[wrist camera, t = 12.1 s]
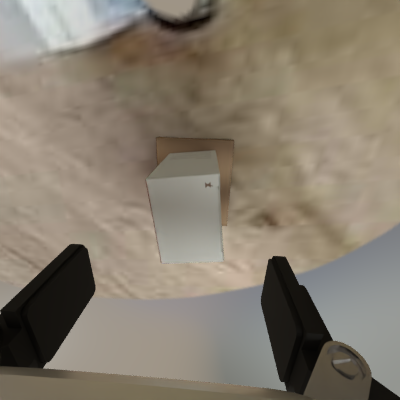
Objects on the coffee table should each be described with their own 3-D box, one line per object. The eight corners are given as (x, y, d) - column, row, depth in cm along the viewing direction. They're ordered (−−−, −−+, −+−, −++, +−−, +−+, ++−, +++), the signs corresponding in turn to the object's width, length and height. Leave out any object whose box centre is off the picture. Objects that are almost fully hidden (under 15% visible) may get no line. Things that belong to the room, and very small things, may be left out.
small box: (168, 152, 25) (143, 176, 15) (216, 149, 25) (220, 171, 15) (176, 213, 28) (159, 266, 18) (219, 211, 28) (224, 264, 18)
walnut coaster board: (158, 137, 26) (156, 137, 25) (233, 140, 25) (234, 140, 24) (161, 219, 30) (159, 222, 29) (226, 222, 29) (226, 225, 29)
